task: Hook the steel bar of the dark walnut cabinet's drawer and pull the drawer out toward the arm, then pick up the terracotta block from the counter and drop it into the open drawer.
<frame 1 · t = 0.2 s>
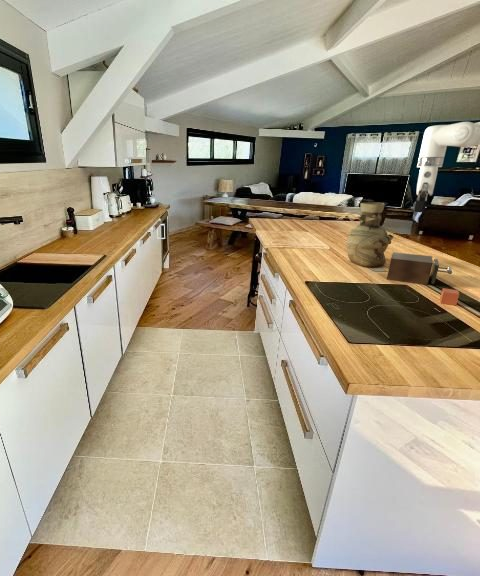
hand: (418, 210, 121), 30 cm above the table, tool pointing down, fingers open, 9 cm apart
ceramic vessel: (364, 263, 162), on the table
drawer: (423, 269, 134), point 5 cm above the table, slide at 1.0 cm
block: (447, 302, 113), on the table
cabinet: (406, 278, 138), on the table
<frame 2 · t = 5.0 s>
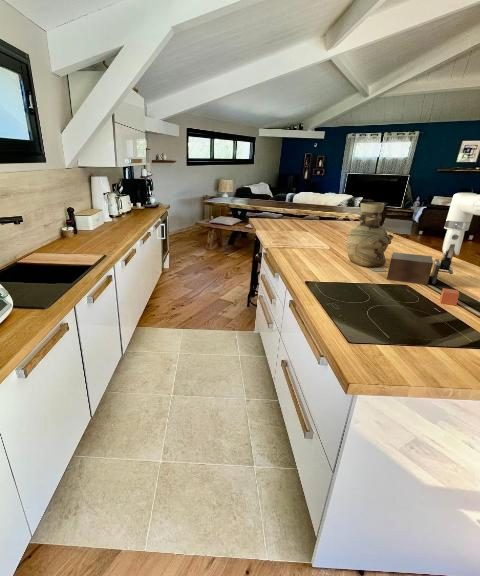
hand: (443, 269, 130), 6 cm above the table, tool pointing down, fingers closed
drawer: (424, 269, 134), point 5 cm above the table, slide at 1.4 cm
everything else where it was.
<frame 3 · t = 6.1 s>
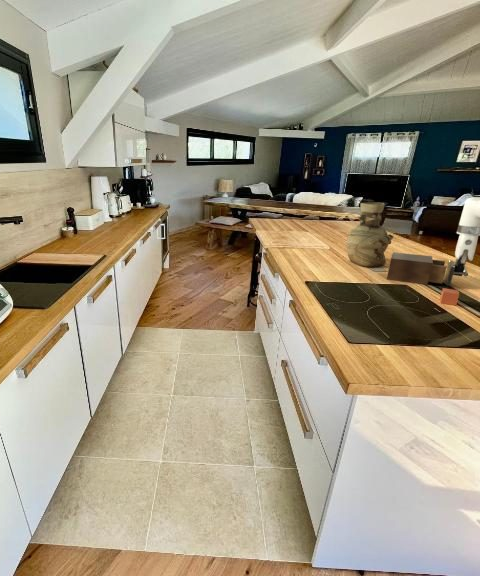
hand: (456, 274, 128), 4 cm above the table, tool pointing down, fingers closed
drawer: (438, 271, 131), point 5 cm above the table, slide at 6.1 cm, touching gripper
everything else where it was.
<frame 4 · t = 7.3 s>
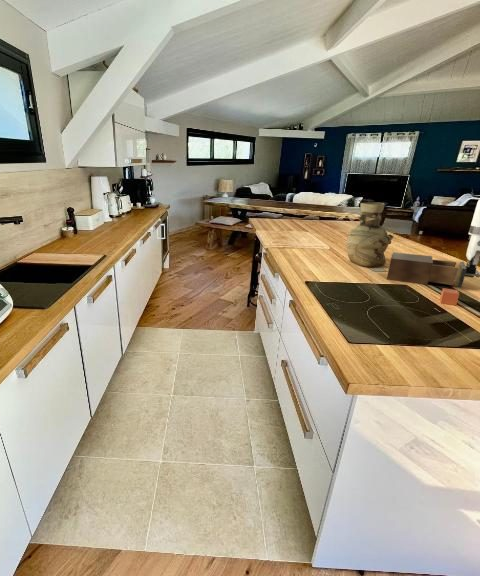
hand: (468, 276, 126), 4 cm above the table, tool pointing down, fingers closed
drawer: (449, 272, 129), point 5 cm above the table, slide at 9.7 cm, touching gripper
everything else where it was.
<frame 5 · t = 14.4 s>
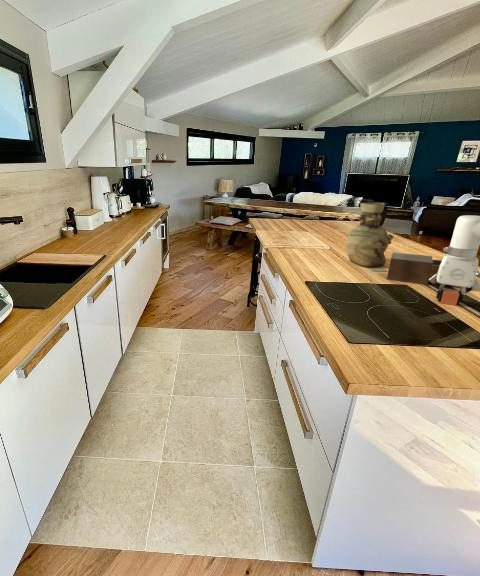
hand: (447, 301, 113), 0 cm above the table, tool pointing down, fingers closed on block, 4 cm apart
drawer: (450, 272, 129), point 5 cm above the table, slide at 10.0 cm
block: (447, 302, 113), on the table, touching gripper
everything else where it was.
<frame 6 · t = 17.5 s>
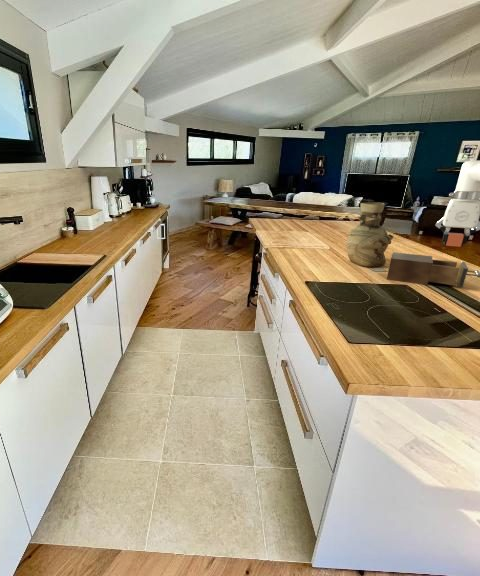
hand: (453, 244, 122), 18 cm above the table, tool pointing down, fingers closed on block, 4 cm apart
block: (452, 245, 122), point 17 cm above the table, touching gripper
everything else where it was.
when the fingers open (7 cm above the table, at t = 20.7 s): block drops 4 cm, resting on drawer.
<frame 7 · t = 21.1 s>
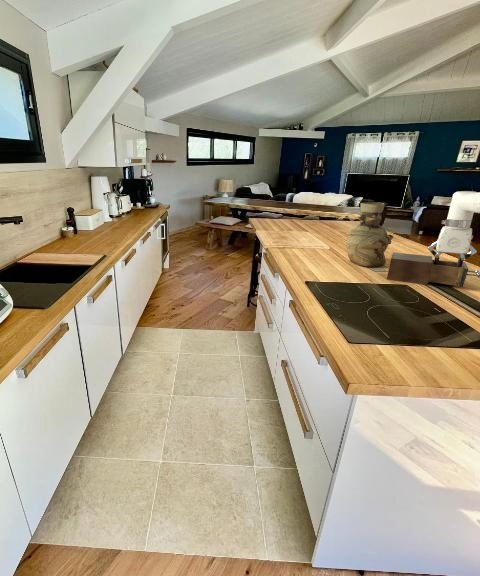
hand: (446, 267, 129), 7 cm above the table, tool pointing down, fingers open, 6 cm apart
drawer: (450, 272, 129), point 5 cm above the table, slide at 10.1 cm, touching block, gripper
block: (442, 278, 131), point 2 cm above the table, touching drawer
everything else where it was.
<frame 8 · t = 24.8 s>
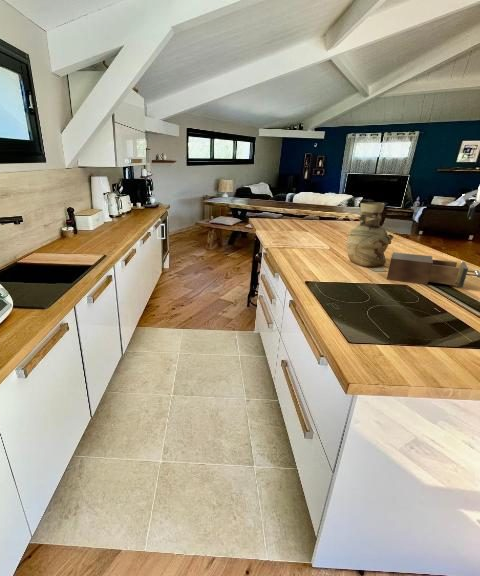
drawer: (450, 272, 129), point 5 cm above the table, slide at 10.0 cm, touching block
everything else where it was.
at the end: drawer slide at 10.0 cm; block inside the target area in the cabinet (7.1 cm from its centre), point 2.0 cm above the cabinet's base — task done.
